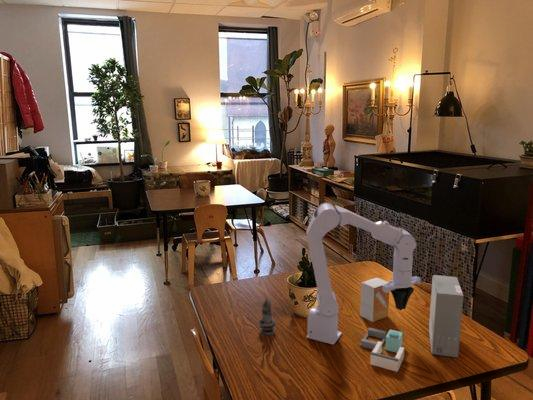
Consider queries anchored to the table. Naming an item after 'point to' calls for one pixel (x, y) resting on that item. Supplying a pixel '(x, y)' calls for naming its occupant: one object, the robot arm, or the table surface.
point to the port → (386, 358)
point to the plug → (393, 341)
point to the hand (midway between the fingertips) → (400, 308)
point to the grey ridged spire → (267, 319)
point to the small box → (374, 300)
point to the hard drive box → (445, 315)
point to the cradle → (374, 333)
